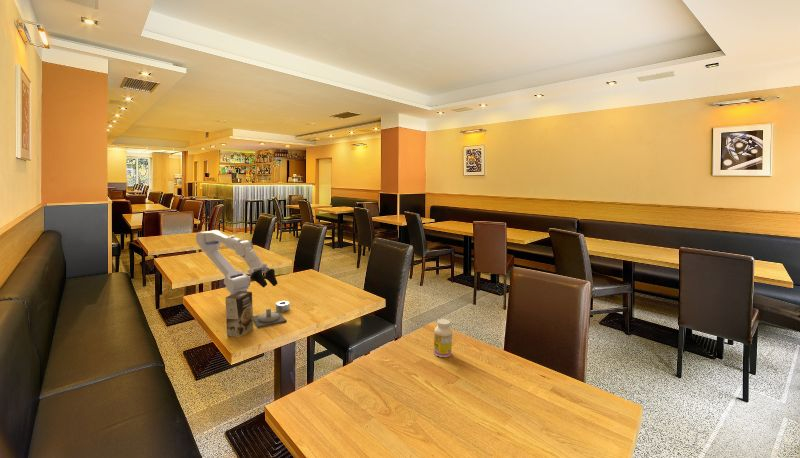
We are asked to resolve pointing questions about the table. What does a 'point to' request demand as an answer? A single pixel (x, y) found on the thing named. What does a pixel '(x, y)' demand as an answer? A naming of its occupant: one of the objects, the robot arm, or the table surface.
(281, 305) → the grey metal ring
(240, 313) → the coffee box
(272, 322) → the hub
